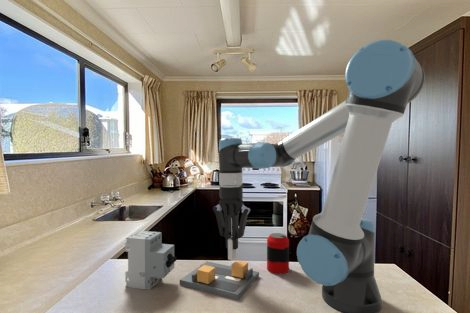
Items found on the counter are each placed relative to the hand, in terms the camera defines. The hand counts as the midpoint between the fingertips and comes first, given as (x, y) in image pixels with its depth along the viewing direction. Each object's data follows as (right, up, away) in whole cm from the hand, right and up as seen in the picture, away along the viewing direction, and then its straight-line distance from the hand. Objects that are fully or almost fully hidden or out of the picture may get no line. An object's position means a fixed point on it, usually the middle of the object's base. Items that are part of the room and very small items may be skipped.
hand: (232, 258), depth 88 cm
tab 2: (+3, -5, -1) cm, 5 cm away
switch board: (-4, -7, -1) cm, 8 cm away
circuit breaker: (-25, -7, -3) cm, 26 cm away
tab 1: (-8, -5, -5) cm, 10 cm away
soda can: (+16, -7, +7) cm, 19 cm away
